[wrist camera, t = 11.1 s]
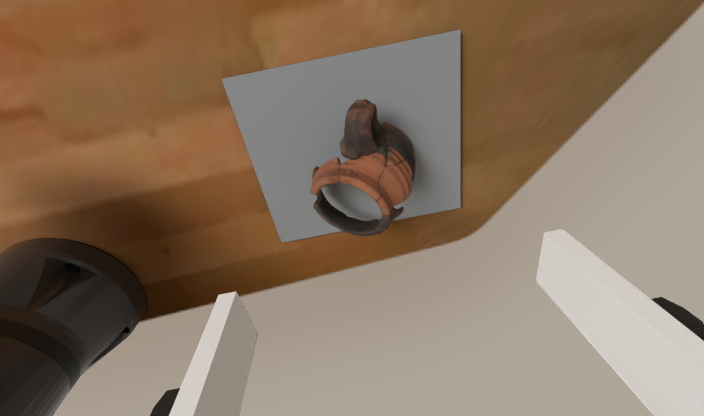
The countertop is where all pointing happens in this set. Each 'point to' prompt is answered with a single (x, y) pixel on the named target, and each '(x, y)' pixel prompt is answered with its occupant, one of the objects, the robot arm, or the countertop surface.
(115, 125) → the countertop surface
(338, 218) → the broken terracotta jug
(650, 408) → the robot arm
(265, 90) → the gray mat
